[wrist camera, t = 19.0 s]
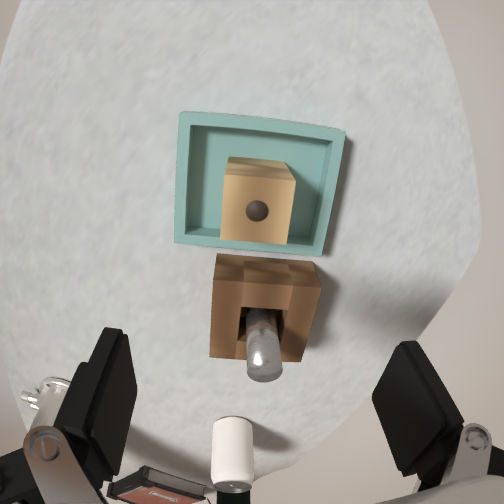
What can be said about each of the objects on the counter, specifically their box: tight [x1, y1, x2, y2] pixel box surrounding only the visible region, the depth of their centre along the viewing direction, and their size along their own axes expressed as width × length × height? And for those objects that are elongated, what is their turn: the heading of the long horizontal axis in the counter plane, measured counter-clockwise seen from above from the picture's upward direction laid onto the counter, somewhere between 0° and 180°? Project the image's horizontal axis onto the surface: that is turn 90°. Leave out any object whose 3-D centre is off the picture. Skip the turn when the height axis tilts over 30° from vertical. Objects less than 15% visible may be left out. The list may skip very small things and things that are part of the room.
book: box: [106, 465, 206, 504], centre depth 63 cm, size 26×18×5 cm
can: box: [211, 416, 254, 493], centre depth 43 cm, size 6×6×12 cm
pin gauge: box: [246, 307, 283, 382], centre depth 30 cm, size 3×3×10 cm
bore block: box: [209, 254, 322, 362], centre depth 34 cm, size 10×10×5 cm
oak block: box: [220, 156, 296, 245], centre depth 26 cm, size 5×5×7 cm
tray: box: [174, 111, 346, 256], centre depth 29 cm, size 14×12×2 cm
